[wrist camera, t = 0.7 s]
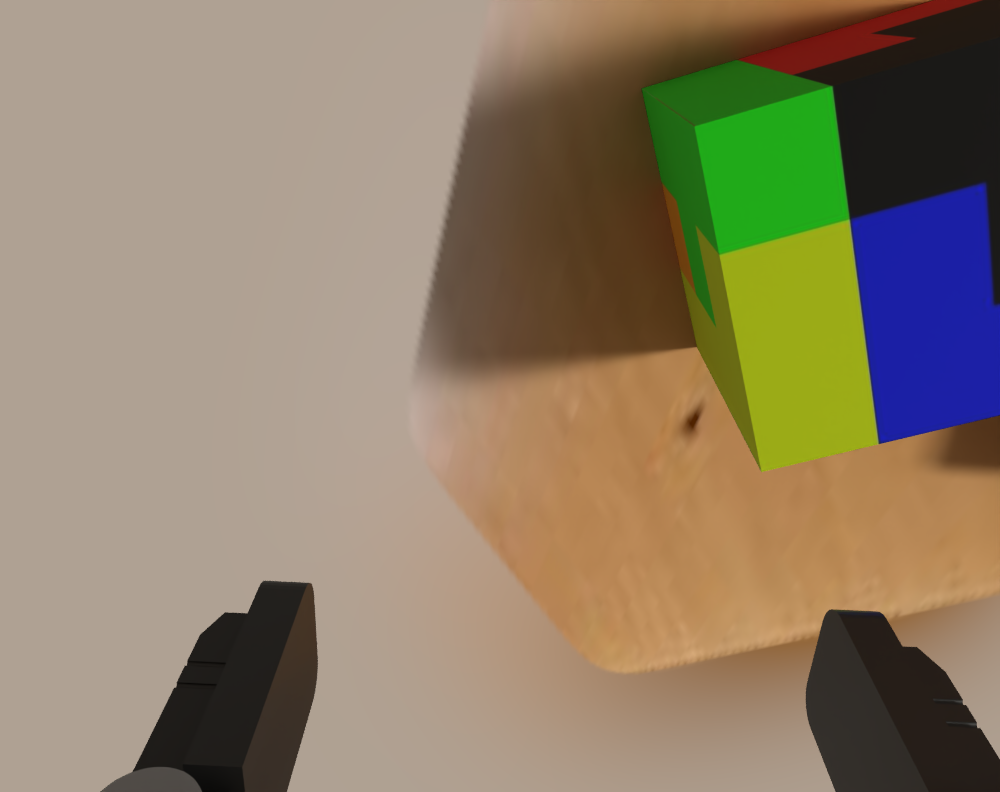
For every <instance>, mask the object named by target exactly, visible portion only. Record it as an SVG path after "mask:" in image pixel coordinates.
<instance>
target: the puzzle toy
mask: <svg viewBox="0 0 1000 792" xmlns="http://www.w3.org/2000/svg"><path fill="white" fill-rule="evenodd" d="M641 89H642V93H643V98H644V103H645V107H646V112H647V117H648V121H649V126H650V131H651V135H652V140H653V145H654V149H655V154H656V159H657V163H658V168H659V173H660V177H661V182H662V187H663V191H664V196H665V201H666V205H667V210H668V215H669V219H670V224H671V229H672V233H673V238H674V243H675V247H676V252H677V257H678V261H679V266H680V271H681V275H682V280H683V285H684V289H685V294H686V299H687V303H688V308H689V313H690V317H691V322H692V327H693V331H694V336H695V341H696V345H697V348H698V350H699V352H700V354H701V356H702V358H703V360H704V362H705V364H706V366H707V368H708V369H709V371H710V373H711V375H712V377H713V379H714V381H715V383H716V385H717V387H718V389H719V391H720V393H721V395H722V397H723V398H724V400H725V402H726V404H727V406H728V408H729V410H730V412H731V414H732V416H733V418H734V420H735V422H736V424H737V426H738V427H739V429H740V431H741V433H742V435H743V437H744V439H745V441H746V443H747V445H748V447H749V449H750V451H751V453H752V455H753V456H754V458H755V460H756V462H757V464H758V466H759V468H760V470H761V472H763V471H768V470H772V469H776V468H780V467H784V466H789V465H793V464H797V463H801V462H806V461H810V460H814V459H818V458H822V457H827V456H831V455H835V454H839V453H843V452H848V451H852V450H856V449H860V448H864V447H869V446H873V445H877V444H881V443H885V442H890V441H894V440H898V439H902V438H906V437H911V436H915V435H919V434H923V433H928V432H932V431H936V430H940V429H944V428H949V427H953V426H957V425H961V424H965V423H970V422H974V421H978V420H982V419H986V418H991V417H995V416H999V415H1000V0H933V1H930V2H927V3H923V4H920V5H917V6H913V7H910V8H907V9H903V10H900V11H897V12H894V13H890V14H887V15H884V16H880V17H877V18H874V19H870V20H867V21H864V22H860V23H857V24H854V25H850V26H847V27H844V28H840V29H837V30H834V31H830V32H827V33H824V34H820V35H817V36H814V37H811V38H807V39H804V40H801V41H797V42H794V43H791V44H787V45H784V46H781V47H777V48H774V49H771V50H767V51H764V52H761V53H757V54H754V55H751V56H747V57H744V58H741V59H738V60H734V61H731V62H728V63H724V64H721V65H718V66H714V67H711V68H708V69H704V70H701V71H698V72H694V73H691V74H688V75H684V76H681V77H678V78H674V79H671V80H668V81H664V82H661V83H658V84H655V85H651V86H648V87H645V88H641Z"/></svg>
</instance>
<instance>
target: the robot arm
mask: <svg viewBox="0 0 1000 792" xmlns="http://www.w3.org/2000/svg"><path fill="white" fill-rule="evenodd" d="M317 659H318V656H317V641H316V622H315V605H314V591H313V587H312V584H311V583H300V582H278V581H263V582H262V583H261V584H260V587H259V588H258V591H257V593H256V595H255V598H254V600H253V602H252V605H251V607H250V609H249V612H248V614H245V613H224V614H223V615H222V616H221V617H219V618H218V619H217V620H216V621H215V622H214V623H213V624H212V625H211V626H210V627H208V628H207V629H206V630H205V631H204V632H203V633H202V634H201V635H200V636H199V639H198V640H197V643H196V644H195V647H194V649H193V651H192V653H191V655H190V657H189V659H188V663H187V666H185V667H184V669H183V671H182V673H181V675H180V677H179V679H178V681H177V687H176V688H174V689H173V691H172V694H171V696H170V697H169V699H168V702H167V704H166V706H165V707H164V710H163V712H162V714H161V716H160V718H159V720H158V722H157V724H156V726H155V728H154V730H153V732H152V734H151V736H150V738H149V740H148V742H147V744H146V746H145V748H144V750H143V752H142V755H141V756H140V758H139V760H138V762H137V764H136V766H135V768H134V770H133V772H132V773H129V774H127V775H125V776H123V777H121V778H119V779H117V780H115V781H114V782H112V783H111V784H110V785H108V786H107V787H106V788H104V789H103V790H102V791H101V792H287V789H288V786H289V782H290V779H291V775H292V771H293V768H294V765H295V761H296V758H297V754H298V751H299V747H300V744H301V740H302V737H303V733H304V730H305V727H306V723H307V720H308V716H309V713H310V709H311V706H312V702H313V699H314V694H315V688H316V681H317V669H318V668H317V667H318V660H317ZM962 701H963V699H962V698H961V696H960V695H959V693H958V691H957V690H956V688H955V687H954V685H953V683H952V682H951V680H950V679H949V677H948V675H947V674H946V672H945V671H944V670H942V669H941V668H940V667H939V666H938V665H937V664H936V663H935V662H933V661H932V660H931V659H930V658H929V657H927V656H926V655H925V654H924V653H923V652H922V651H921V650H920V649H918V648H917V647H903V646H902V645H901V643H900V642H899V640H898V638H897V637H896V635H895V633H894V631H893V630H892V628H891V626H890V624H889V623H888V621H887V619H886V618H885V616H884V615H883V614H882V613H880V612H874V611H853V610H832V609H831V610H829V611H828V612H827V613H826V614H825V617H824V619H823V623H822V627H821V630H820V634H819V638H818V642H817V646H816V651H815V654H814V658H813V662H812V666H811V670H810V674H809V678H808V682H807V688H806V709H807V716H808V721H809V724H810V727H811V730H812V733H813V735H814V738H815V740H816V743H817V745H818V748H819V750H820V753H821V756H822V758H823V761H824V763H825V766H826V768H827V771H828V774H829V776H830V779H831V781H832V784H833V786H834V789H835V791H836V792H1000V759H999V758H998V756H997V754H996V753H995V751H994V750H993V748H992V746H991V745H990V743H989V741H988V740H987V738H986V737H985V735H984V733H983V732H982V730H981V729H980V728H977V722H976V721H975V719H974V717H973V716H972V714H971V712H970V711H969V709H968V708H967V706H966V705H963V703H962Z"/></svg>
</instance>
